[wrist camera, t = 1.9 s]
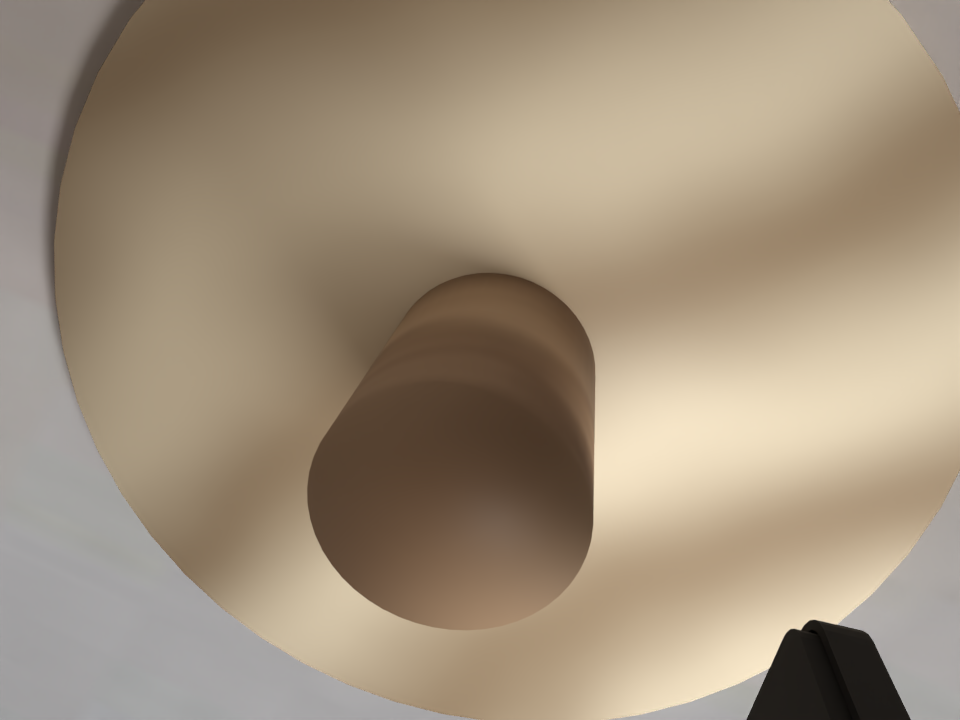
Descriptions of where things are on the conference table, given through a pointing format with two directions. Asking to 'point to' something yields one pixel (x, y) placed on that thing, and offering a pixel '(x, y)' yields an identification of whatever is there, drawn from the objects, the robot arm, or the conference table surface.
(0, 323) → the conference table surface
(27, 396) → the conference table surface
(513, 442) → the lid
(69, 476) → the conference table surface
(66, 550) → the conference table surface
